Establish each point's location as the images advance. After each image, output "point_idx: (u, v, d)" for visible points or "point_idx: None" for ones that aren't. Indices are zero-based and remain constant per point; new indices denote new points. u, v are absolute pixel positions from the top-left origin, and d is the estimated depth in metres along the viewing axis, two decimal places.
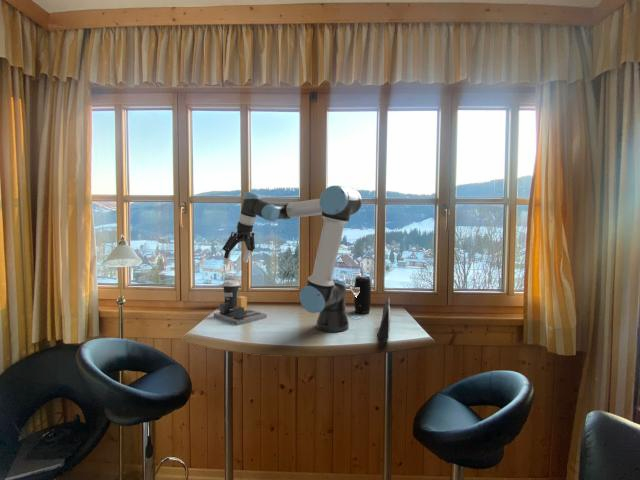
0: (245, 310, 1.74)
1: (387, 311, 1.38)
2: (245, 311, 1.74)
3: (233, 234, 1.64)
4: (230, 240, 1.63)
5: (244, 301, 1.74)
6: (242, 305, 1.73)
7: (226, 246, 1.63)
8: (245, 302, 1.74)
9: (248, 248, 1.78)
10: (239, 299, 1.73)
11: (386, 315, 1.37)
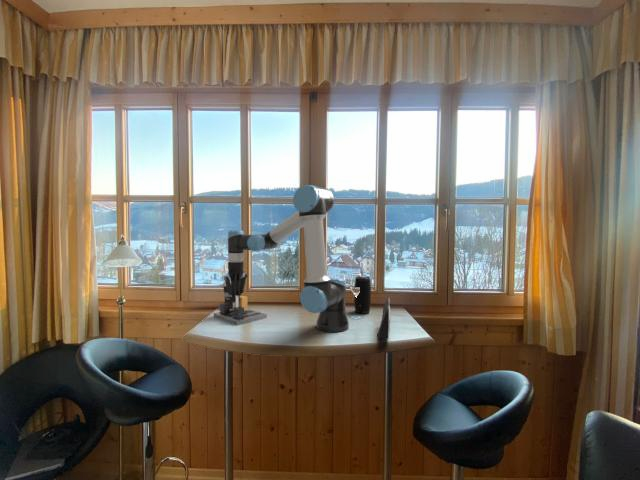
0: (246, 310, 1.75)
1: (387, 311, 1.38)
2: (246, 311, 1.75)
3: (225, 279, 1.66)
4: (227, 284, 1.67)
5: (245, 301, 1.74)
6: (243, 305, 1.73)
7: (229, 291, 1.68)
8: (246, 302, 1.74)
9: (236, 293, 1.72)
10: (240, 299, 1.73)
11: (386, 315, 1.37)
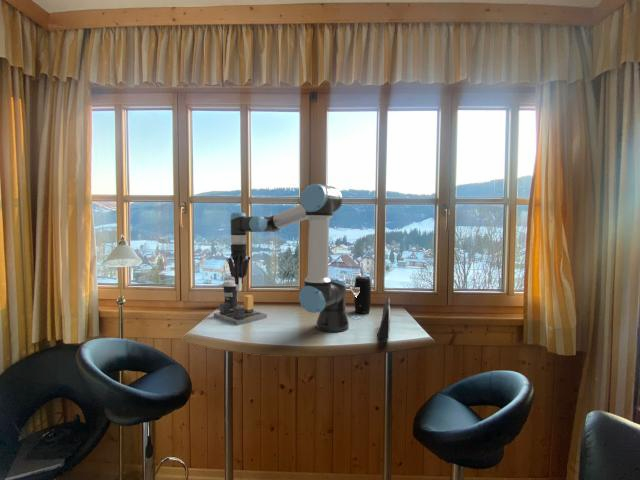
0: (251, 309, 1.77)
1: (387, 311, 1.38)
2: (251, 310, 1.77)
3: (228, 260, 1.67)
4: (230, 266, 1.68)
5: (251, 300, 1.77)
6: (249, 304, 1.76)
7: (232, 273, 1.69)
8: (252, 301, 1.77)
9: (239, 275, 1.73)
10: (246, 298, 1.76)
11: (386, 315, 1.37)
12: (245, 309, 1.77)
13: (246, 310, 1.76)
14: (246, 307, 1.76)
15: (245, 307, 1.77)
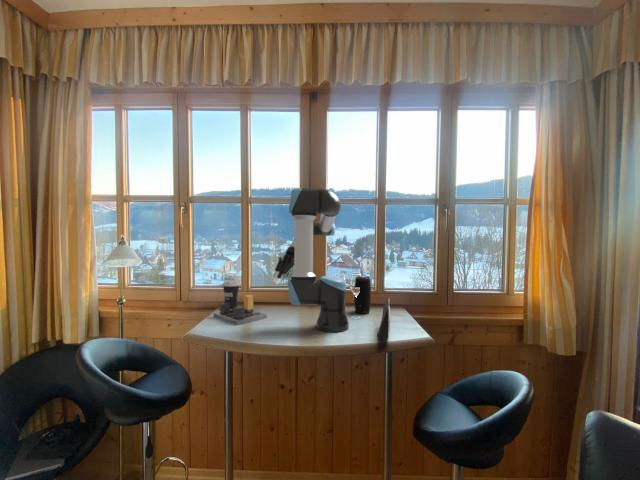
0: (251, 309, 1.77)
1: (387, 311, 1.38)
2: (251, 310, 1.77)
3: None
4: None
5: (251, 300, 1.77)
6: (249, 304, 1.76)
7: None
8: (252, 301, 1.77)
9: None
10: (246, 298, 1.76)
11: (386, 315, 1.37)
12: (245, 309, 1.77)
13: (246, 310, 1.76)
14: (246, 307, 1.76)
15: (245, 307, 1.77)
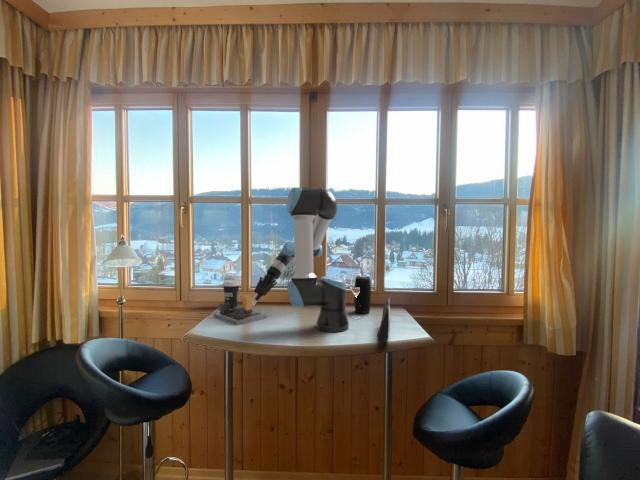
0: (250, 309, 1.77)
1: (387, 311, 1.38)
2: (250, 310, 1.77)
3: None
4: None
5: (249, 300, 1.76)
6: (247, 304, 1.75)
7: None
8: (250, 301, 1.77)
9: None
10: (244, 298, 1.75)
11: (386, 315, 1.37)
12: (244, 309, 1.76)
13: (245, 310, 1.75)
14: (245, 307, 1.75)
15: (244, 307, 1.76)
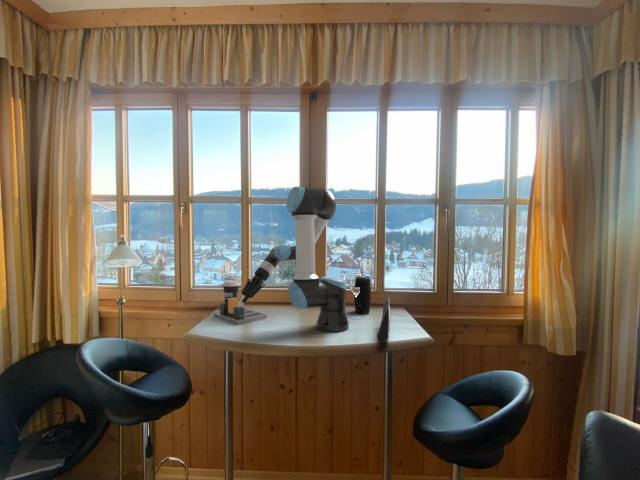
0: None
1: (387, 311, 1.38)
2: None
3: None
4: None
5: (235, 303, 1.70)
6: (233, 307, 1.69)
7: None
8: (236, 304, 1.70)
9: None
10: (230, 301, 1.69)
11: (386, 315, 1.37)
12: (229, 312, 1.70)
13: (230, 313, 1.69)
14: (231, 310, 1.69)
15: (229, 310, 1.70)
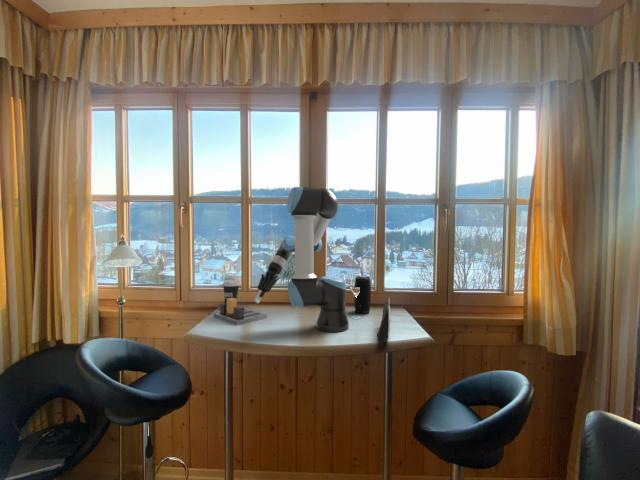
0: None
1: (387, 311, 1.38)
2: None
3: None
4: None
5: (234, 303, 1.69)
6: (232, 307, 1.68)
7: None
8: (235, 304, 1.70)
9: None
10: (229, 301, 1.69)
11: (386, 315, 1.37)
12: (228, 313, 1.69)
13: (229, 314, 1.69)
14: (229, 310, 1.68)
15: (228, 310, 1.69)
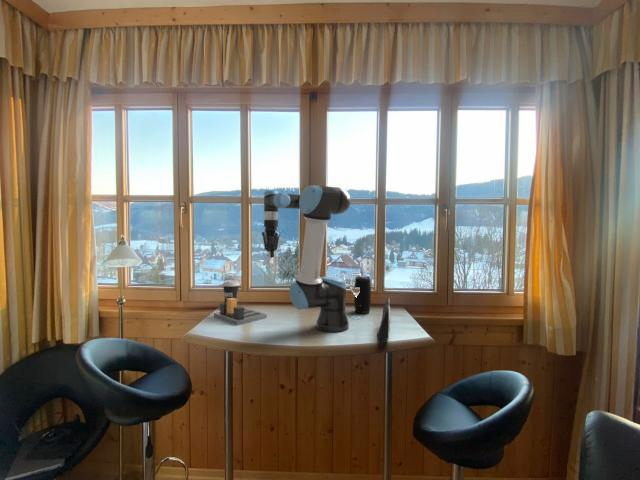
0: None
1: (387, 311, 1.38)
2: None
3: None
4: None
5: (234, 303, 1.69)
6: (232, 307, 1.68)
7: None
8: (235, 304, 1.70)
9: None
10: (229, 301, 1.69)
11: (386, 315, 1.37)
12: (228, 313, 1.69)
13: (229, 314, 1.69)
14: (229, 310, 1.68)
15: (228, 310, 1.69)
